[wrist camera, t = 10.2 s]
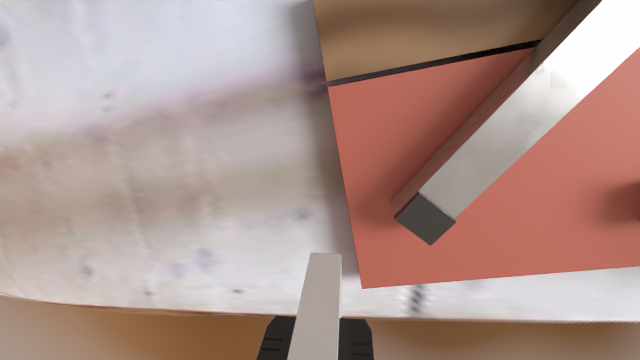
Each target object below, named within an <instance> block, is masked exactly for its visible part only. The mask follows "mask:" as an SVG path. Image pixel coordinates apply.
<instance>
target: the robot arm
mask: <svg viewBox="0 0 640 360" xmlns="http://www.w3.org/2000/svg"><path fill="white" fill-rule="evenodd" d="M341 306H342V262H341V254H335V253H310V258H309V263H308V267H307V272H306V276H305V281H304V285H303V290H302V294H301V299H300V303H299V308H298V313H297V317H287V316H276V317H275V318H274V319H273V320H272V321H271V322H270V324H269V325H268V326H267V329H266V332H265V335H264V339H263V341H262V345H261V347H260V351H259V354H258V356H257V360H374V357H373V345H372V332H371V329H370V327H369V326H368V324H367V322H366V320H365V319H345V318H341Z"/></svg>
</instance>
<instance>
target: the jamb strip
mask: <svg viewBox="0 0 640 360" xmlns="http://www.w3.org/2000/svg"><path fill="white" fill-rule="evenodd" d="M579 1H580V0H313V6H314V11H315V17H316V23H317V29H318V35H319V41H320V46H321V52H322V58H323V64H324V70H325V75H326V81H331V80H336V79H341V78H346V77H351V76H356V75H362V74H367V73H372V72H377V71H382V70H387V69H392V68H397V67H402V66H407V65H412V64H417V63H422V62H427V61H433V60H438V59H443V58H448V57H453V56H458V55H463V54H468V53H473V52H478V51H483V50H488V49H493V48H498V47H504V46H509V45H514V44H519V43H524V42H529V41H534V40H539V39H544V38H545V37H546V36H547V34H548V33H549V32H550V31H551V30H552V29H553V28H554V27H555V26H556V25H557V24H558V23H559V22H560V21H561V20H562V19H563V17H564V16H565V15H566V14H567V13H568V12H569V11H570V10H571V9H572V8H573V7H574V6H575V5H576V4H577V3H578V2H579Z"/></svg>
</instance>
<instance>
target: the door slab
mask: <svg viewBox="0 0 640 360" xmlns="http://www.w3.org/2000/svg"><path fill="white" fill-rule="evenodd" d="M535 47H536V46H534V47H529V48H524V49H519V50H513V51H508V52H503V53H498V54H493V55H488V56H483V57H477V58H472V59H467V60H462V61H457V62H452V63H446V64H441V65H436V66H431V67H426V68H421V69H416V70H410V71H405V72H400V73H395V74H390V75H385V76H380V77H374V78H369V79H364V80H359V81H354V82H349V83H344V84H338V85H333V86H329V87H328V93H329V99H330V105H331V110H332V116H333V122H334V128H335V134H336V140H337V145H338V151H339V157H340V163H341V169H342V174H343V180H344V186H345V192H346V198H347V204H348V209H349V215H350V221H351V227H352V233H353V238H354V244H355V250H356V256H357V262H358V268H359V273H360V279H361V285H362V289H365V288H378V287H390V286H402V285H414V284H426V283H439V282H451V281H463V280H475V279H487V278H500V277H512V276H524V275H536V274H548V273H561V272H573V271H585V270H597V269H609V268H622V267H634V266H640V46H639V47H638V48H637V49H636V50H635V51H634V52H633V53H632V54H630V55H629V56H628V57H627V58H626V59H625V60H624V61H623V62H622V63H621V64H620V65H619V66H618V67H616V68H615V69H614V70H613V71H612V72H611V73H610V74H609V75H608V76H607V77H606V78H605V79H604V80H603V81H601V82H600V83H599V84H598V85H597V86H596V87H595V88H594V89H593V90H592V91H591V92H590V93H589V94H588V95H586V96H585V97H584V98H583V99H582V100H581V101H580V102H579V103H578V104H577V105H576V106H575V107H574V108H573V109H571V110H570V111H569V112H568V113H567V114H566V115H565V116H564V117H563V118H562V119H561V120H560V121H559V122H557V123H556V124H555V125H554V126H553V127H552V128H551V129H550V130H549V131H548V132H547V133H546V134H545V135H544V136H542V137H541V138H540V139H539V140H538V141H537V142H536V143H535V144H534V145H533V146H532V147H531V148H530V149H529V150H527V151H526V152H525V153H524V154H523V155H522V156H521V157H520V158H519V159H518V160H517V161H516V162H515V163H514V164H512V165H511V166H510V167H509V168H508V169H507V170H506V171H505V172H504V173H503V174H502V175H501V176H500V177H498V178H497V179H496V180H495V181H494V182H493V183H492V184H491V185H490V186H489V187H488V188H487V189H486V190H485V191H483V192H482V193H481V194H480V195H479V196H478V197H477V198H476V199H475V200H474V201H473V202H472V203H471V204H470V205H468V206H467V207H466V208H465V209H464V210H463V211H462V212H461V213H460V214H459V215H458V216H457V217H456V218H454V219H455V220H456V223H455V224H454V225H453V226H452V227H451V228H450V229H449V230H447V231H446V232H445V233H444V234H443V235H442V236H441V237H440V238H439V239H438V240H437V241H436V242H435V243H433V244H432V245H431V246H430V245H428V244H427V243H426V242H424V241H423V240H422V239H420V238H419V237H418V236H416V235H415V234H414V233H412V232H411V231H409V230H408V229H407V228H405V227H404V226H403V225H401V224H400V223H399V222H397V221H396V220H395V219H394V216H393V212H392V209H391V205H390V201H391V200H392V199H393V198H394V197H395V196H396V195H397V194H398V193H399V191H400V190H401V189H402V188H403V187H404V186H405V185H406V184H407V183H408V182H409V181H410V180H411V179H412V178H413V177H414V176H415V175H416V173H417V172H418V171H419V170H420V169H421V168H422V167H423V166H424V165H425V164H426V163H427V162H428V161H429V160H430V159H431V158H432V156H433V155H434V154H435V153H436V152H437V151H438V150H439V149H440V148H441V147H442V146H443V145H444V144H445V143H446V142H447V141H448V139H449V138H450V137H451V136H452V135H453V134H454V133H455V132H456V131H457V130H458V129H459V128H460V127H461V126H462V125H463V124H464V123H465V121H466V120H467V119H468V118H469V117H470V116H471V115H472V114H473V113H474V112H475V111H476V110H477V109H478V108H479V107H480V106H481V104H482V103H483V102H484V101H485V100H486V99H487V98H488V97H489V96H490V95H491V94H492V93H493V92H494V91H495V90H496V89H497V88H498V86H499V85H500V84H501V83H502V82H503V81H504V80H505V79H506V78H507V77H508V76H509V75H510V74H511V73H512V72H513V71H514V69H515V68H516V67H517V66H518V65H519V64H520V63H521V62H522V61H523V60H524V59H525V58H526V57H527V56H528V55H529V54H530V53H531V51H532V50H533V49H534V48H535Z"/></svg>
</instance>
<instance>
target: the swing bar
mask: <svg viewBox="0 0 640 360" xmlns="http://www.w3.org/2000/svg"><path fill="white" fill-rule="evenodd" d="M639 46H640V0H580V1H579V2H578V3H577V4H576V5H575V6H574V7H573V8H572V9H571V10H570V11H569V12H568V13H567V14H566V15H565V16H564V17H563V19H562V20H561V21H560V22H559V23H558V24H557V25H556V26H555V27H554V28H553V29H552V30H551V31H550V32H549V33H548V34H547V36H546V37H545V38H544V39H543V40H542V41H541V42H540V43H539V44H538V45H537V46H536V47H535V48H534V49H533V50H532V51H531V53H530V54H529V55H528V56H527V57H526V58H525V59H524V60H523V61H522V62H521V63H520V64H519V65H518V66H517V67H516V68H515V69H514V71H513V72H512V73H511V74H510V75H509V76H508V77H507V78H506V79H505V80H504V81H503V82H502V83H501V84H500V85H499V86H498V88H497V89H496V90H495V91H494V92H493V93H492V94H491V95H490V96H489V97H488V98H487V99H486V100H485V101H484V102H483V103H482V104H481V106H480V107H479V108H478V109H477V110H476V111H475V112H474V113H473V114H472V115H471V116H470V117H469V118H468V119H467V120H466V121H465V123H464V124H463V125H462V126H461V127H460V128H459V129H458V130H457V131H456V132H455V133H454V134H453V135H452V136H451V137H450V138H449V139H448V141H447V142H446V143H445V144H444V145H443V146H442V147H441V148H440V149H439V150H438V151H437V152H436V153H435V154H434V155H433V156H432V158H431V159H430V160H429V161H428V162H427V163H426V164H425V165H424V166H423V167H422V168H421V169H420V170H419V171H418V172H417V173H416V175H415V176H414V177H413V178H412V179H411V180H410V181H409V182H408V183H407V184H406V185H405V186H404V187H403V188H402V189H401V190H400V191H399V193H398V194H397V195H396V196H395V197H394V198H393V199H392V200H391V201H390V205H391V209H392V212H393V216H394V219H395V220H396V221H397V222H399V223H400V224H401V225H403V226H404V227H405V228H407V229H408V230H409V231H411V232H412V233H414V234H415V235H416V236H418V237H419V238H420V239H422V240H423V241H424V242H426V243H427V244H428V245H430V246H431V245H432V244H433V243H435V242H436V241H437V240H438V239H439V238H440V237H441V236H442V235H443V234H444V233H445V232H446V231H447V230H449V229H450V228H451V227H452V226H453V225H454V224H455V223H456V220H455V219H454V218H456V217H457V216H458V215H459V214H460V213H461V212H462V211H463V210H464V209H465V208H466V207H467V206H468V205H470V204H471V203H472V202H473V201H474V200H475V199H476V198H477V197H478V196H479V195H480V194H481V193H482V192H483V191H485V190H486V189H487V188H488V187H489V186H490V185H491V184H492V183H493V182H494V181H495V180H496V179H497V178H498V177H500V176H501V175H502V174H503V173H504V172H505V171H506V170H507V169H508V168H509V167H510V166H511V165H512V164H514V163H515V162H516V161H517V160H518V159H519V158H520V157H521V156H522V155H523V154H524V153H525V152H526V151H527V150H529V149H530V148H531V147H532V146H533V145H534V144H535V143H536V142H537V141H538V140H539V139H540V138H541V137H542V136H544V135H545V134H546V133H547V132H548V131H549V130H550V129H551V128H552V127H553V126H554V125H555V124H556V123H557V122H559V121H560V120H561V119H562V118H563V117H564V116H565V115H566V114H567V113H568V112H569V111H570V110H571V109H573V108H574V107H575V106H576V105H577V104H578V103H579V102H580V101H581V100H582V99H583V98H584V97H585V96H586V95H588V94H589V93H590V92H591V91H592V90H593V89H594V88H595V87H596V86H597V85H598V84H599V83H600V82H601V81H603V80H604V79H605V78H606V77H607V76H608V75H609V74H610V73H611V72H612V71H613V70H614V69H615V68H616V67H618V66H619V65H620V64H621V63H622V62H623V61H624V60H625V59H626V58H627V57H628V56H629V55H630V54H632V53H633V52H634V51H635V50H636V49H637V48H638V47H639Z"/></svg>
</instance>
